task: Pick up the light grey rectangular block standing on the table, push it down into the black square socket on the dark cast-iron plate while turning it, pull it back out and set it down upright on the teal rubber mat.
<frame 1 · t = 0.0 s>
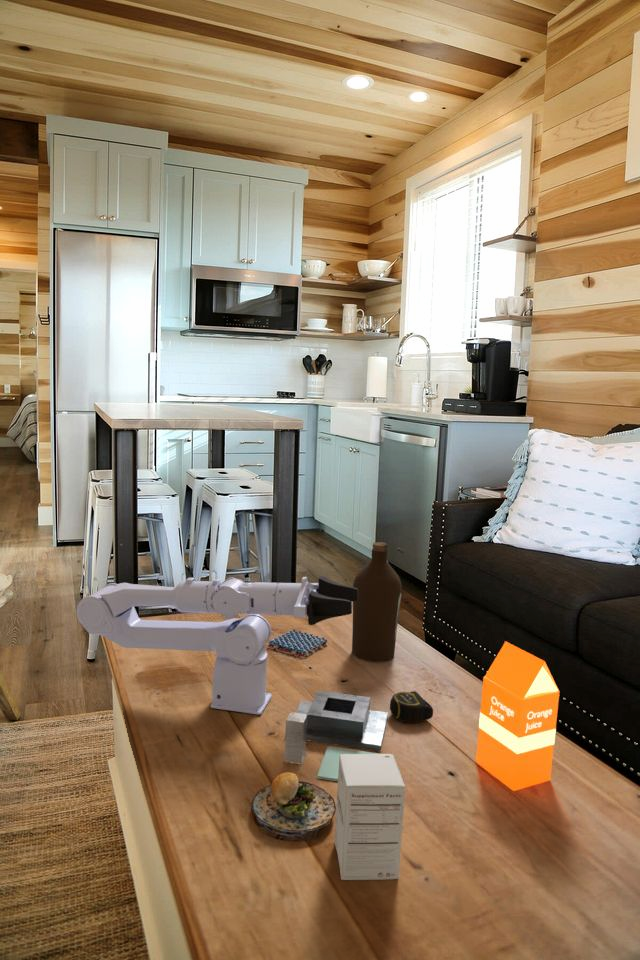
hand: (354, 600, 124), 22 cm above the table, fingers open, 7 cm apart
orange juice: (512, 772, 112), on the table
olive oil: (373, 654, 157), on the table
tape measure: (410, 717, 129), on the table
burger: (292, 817, 98), on the table
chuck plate: (338, 727, 123), on the table
woven mat: (297, 649, 159), on the table
supplement box: (365, 862, 89), on the table
light grey rectangular block: (294, 758, 112), on the table
mat: (350, 767, 111), on the table
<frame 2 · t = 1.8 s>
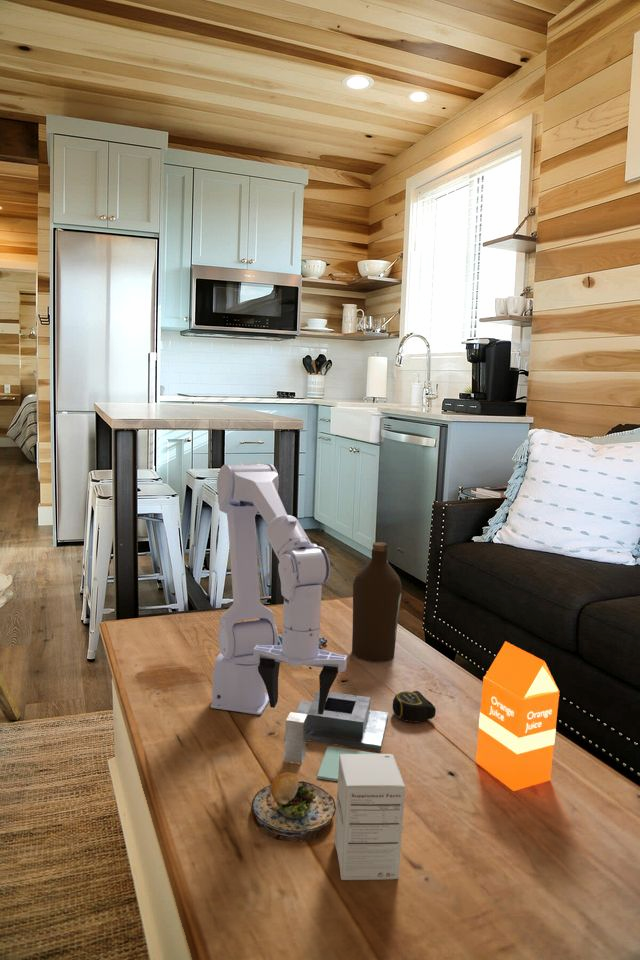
hand: (297, 708, 111), 9 cm above the table, fingers open, 7 cm apart
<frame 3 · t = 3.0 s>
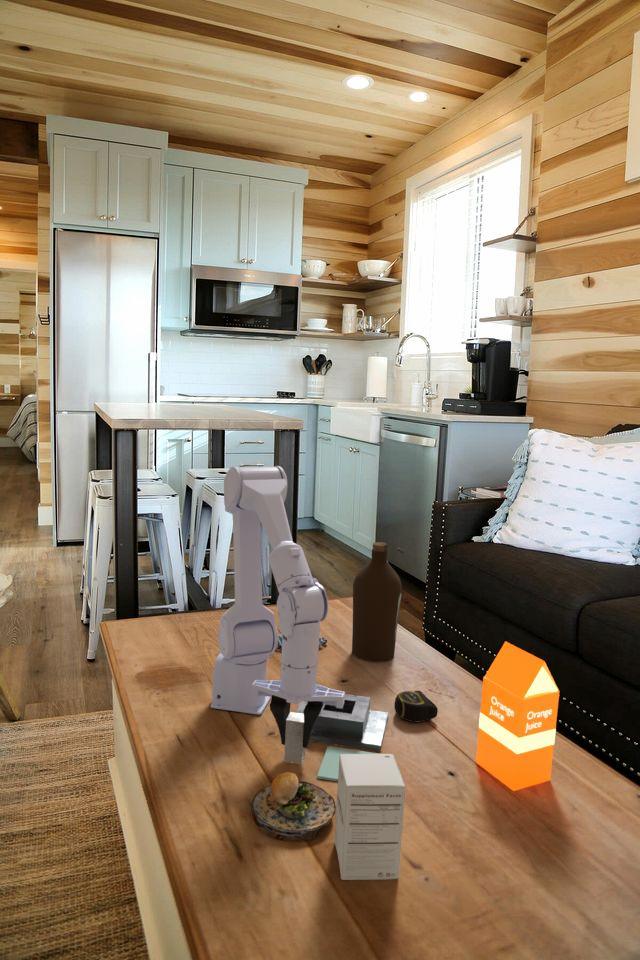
hand: (295, 743, 112), 3 cm above the table, fingers closed on light grey rectangular block, 3 cm apart
light grey rectangular block: (294, 758, 112), on the table, touching gripper
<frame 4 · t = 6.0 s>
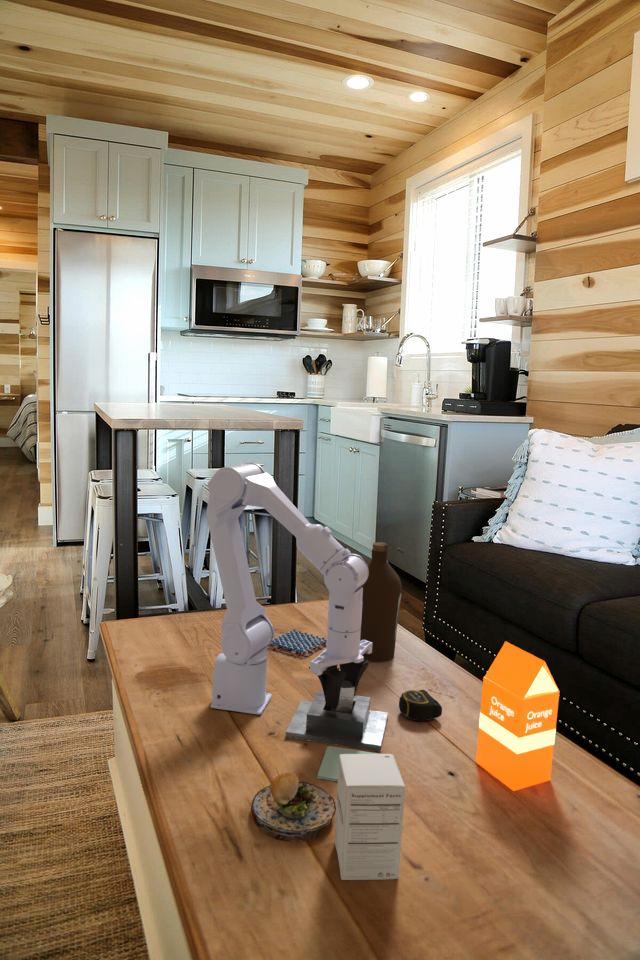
hand: (339, 702, 122), 5 cm above the table, fingers closed on light grey rectangular block, 4 cm apart
light grey rectangular block: (339, 722, 122), point 1 cm above the table, touching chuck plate, gripper
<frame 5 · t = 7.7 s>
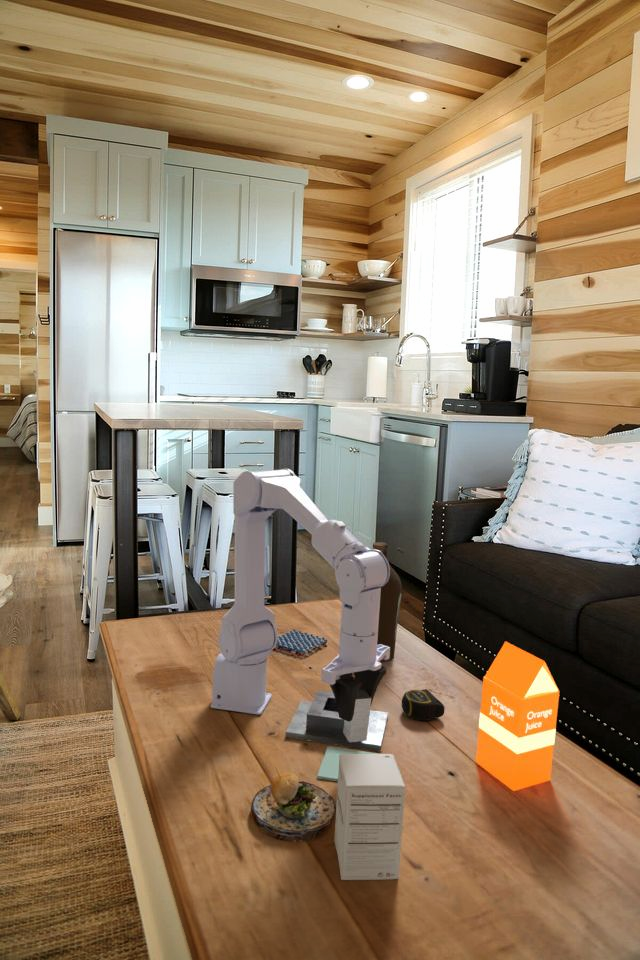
hand: (354, 714, 109), 9 cm above the table, fingers closed on light grey rectangular block, 4 cm apart
light grey rectangular block: (354, 736, 110), point 5 cm above the table, touching gripper
when the fingers open (4 cm above the table, at t = 8.9 s): light grey rectangular block stays where it is, resting on mat.
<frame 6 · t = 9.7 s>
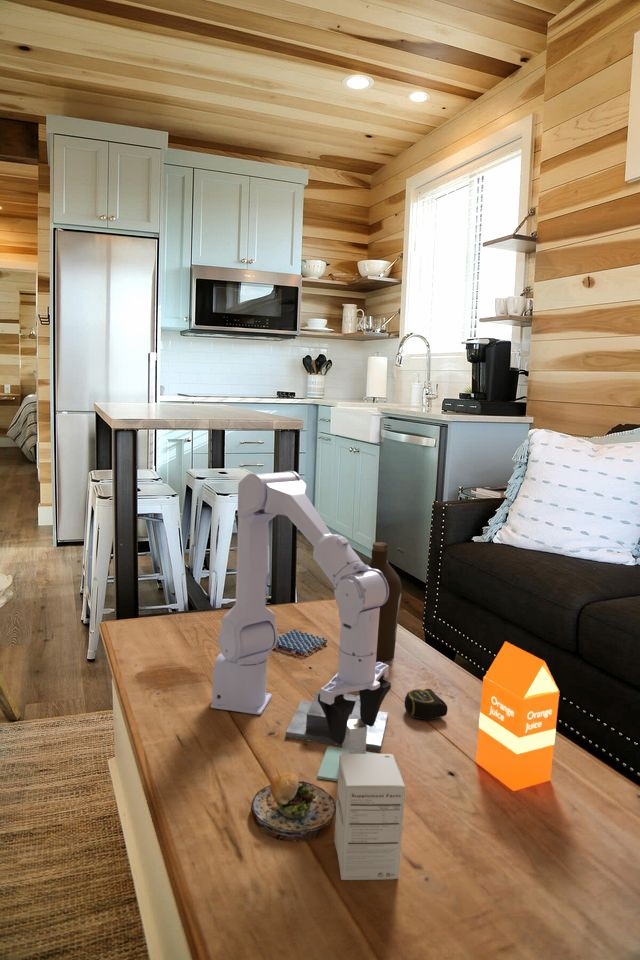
hand: (352, 732, 110), 6 cm above the table, fingers open, 7 cm apart
light grey rectangular block: (352, 765, 110), resting on mat
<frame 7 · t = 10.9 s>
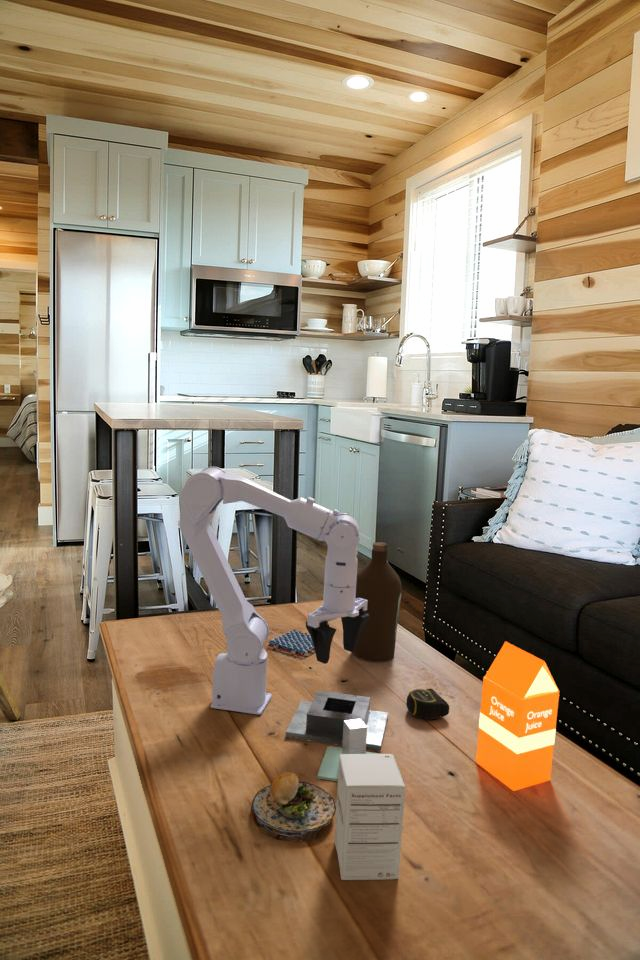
hand: (336, 656, 128), 10 cm above the table, fingers open, 7 cm apart
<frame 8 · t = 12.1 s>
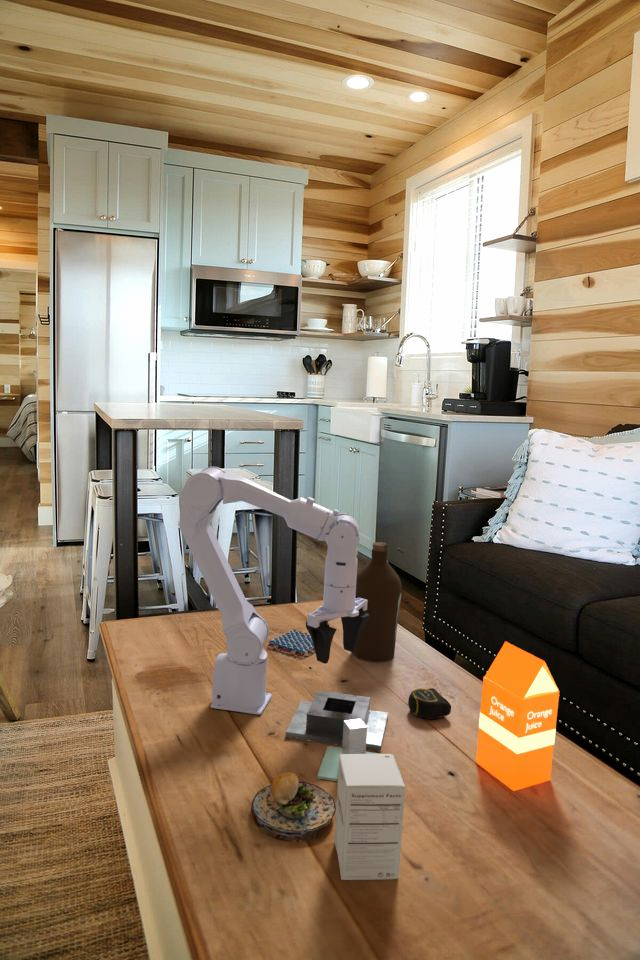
hand: (336, 655, 128), 10 cm above the table, fingers open, 7 cm apart
at the end: light grey rectangular block inside the target area on the mat (0.4 cm from its centre), point 0.4 cm above the mat's base; light grey rectangular block tilted 0°; the gripper is holding nothing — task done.
